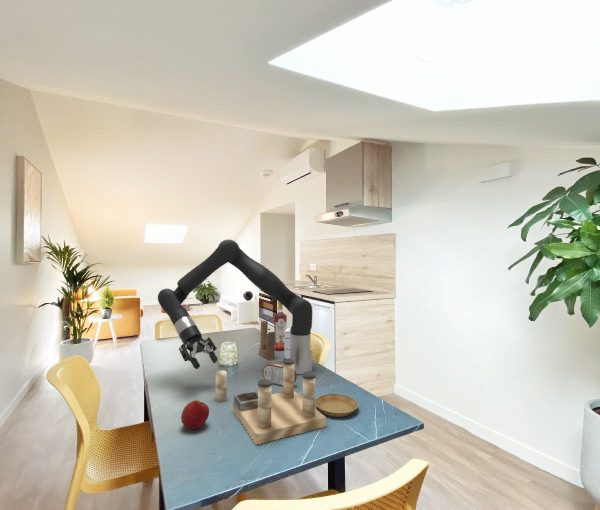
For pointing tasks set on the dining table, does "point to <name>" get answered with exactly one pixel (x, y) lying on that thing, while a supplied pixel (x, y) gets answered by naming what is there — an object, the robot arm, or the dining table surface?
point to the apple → (195, 414)
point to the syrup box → (287, 343)
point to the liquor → (279, 327)
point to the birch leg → (221, 385)
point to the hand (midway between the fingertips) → (207, 364)
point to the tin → (275, 373)
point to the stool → (279, 408)
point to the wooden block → (267, 342)
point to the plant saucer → (336, 405)
